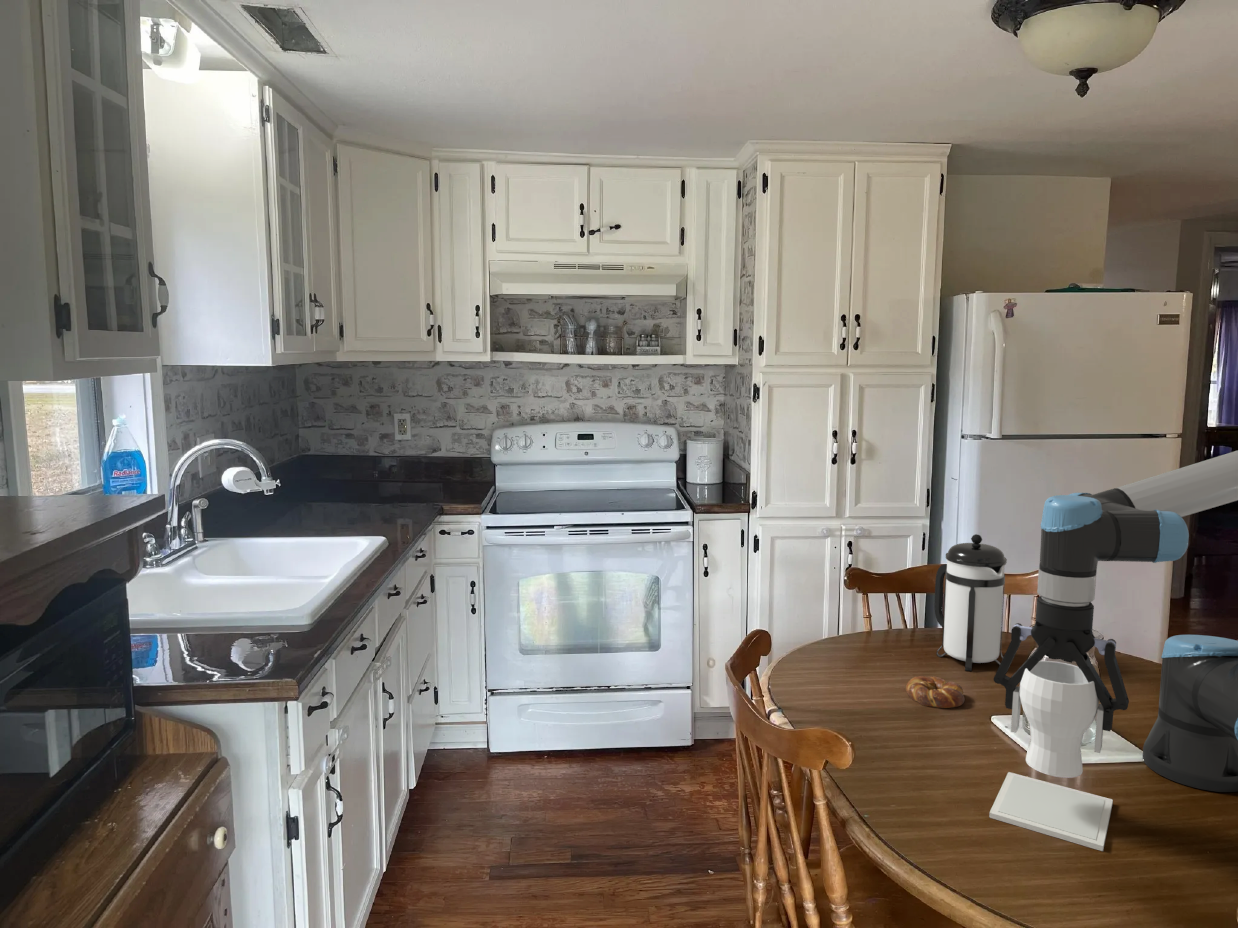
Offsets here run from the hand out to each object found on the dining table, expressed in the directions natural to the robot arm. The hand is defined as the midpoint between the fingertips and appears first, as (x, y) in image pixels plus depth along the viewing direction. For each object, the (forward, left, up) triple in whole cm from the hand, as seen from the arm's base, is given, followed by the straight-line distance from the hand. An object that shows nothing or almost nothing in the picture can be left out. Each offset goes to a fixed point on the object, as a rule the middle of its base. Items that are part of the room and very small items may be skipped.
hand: (1055, 738), depth 123 cm
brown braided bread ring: (+26, -34, -12) cm, 44 cm away
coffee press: (+26, -60, -12) cm, 66 cm away
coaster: (0, 0, -12) cm, 12 cm away
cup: (0, 0, -5) cm, 5 cm away
